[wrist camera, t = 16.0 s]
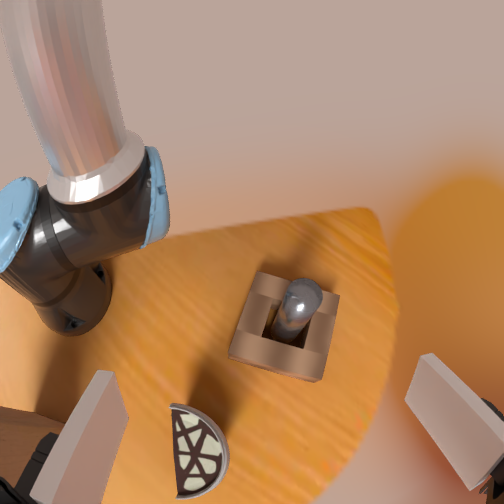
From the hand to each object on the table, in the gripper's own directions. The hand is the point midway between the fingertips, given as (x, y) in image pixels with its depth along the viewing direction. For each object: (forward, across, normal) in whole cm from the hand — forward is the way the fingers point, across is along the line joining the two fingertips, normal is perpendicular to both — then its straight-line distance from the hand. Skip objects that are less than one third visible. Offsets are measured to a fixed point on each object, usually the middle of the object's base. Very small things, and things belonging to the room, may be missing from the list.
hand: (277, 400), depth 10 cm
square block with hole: (+29, +6, -13) cm, 32 cm away
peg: (+29, +6, -13) cm, 32 cm away
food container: (+17, -6, -25) cm, 31 cm away
